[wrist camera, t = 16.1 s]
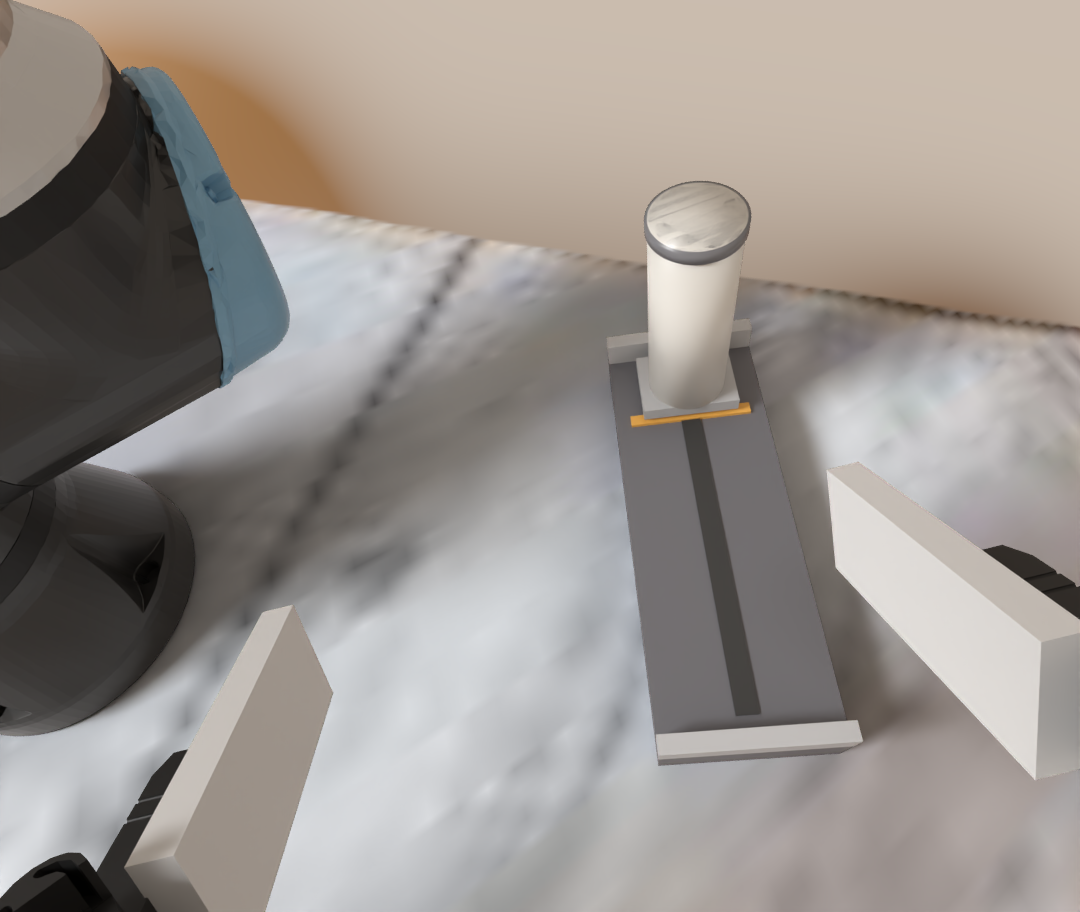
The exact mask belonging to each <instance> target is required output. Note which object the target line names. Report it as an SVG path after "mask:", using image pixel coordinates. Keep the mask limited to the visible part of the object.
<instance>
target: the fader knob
mask: <svg viewBox="0 0 1080 912" xmlns="http://www.w3.org/2000/svg"><path fill="white" fill-rule="evenodd" d="M750 222H751V210H750V206H749V204H748V202H747V201H746V199H745V198H744V197H743V196H742V195H741V194H740V193H739V192H737V191H736V190H734V189H733V188H731V187H728V186H726V185H723V184H720V183H715V182H709V181H693V182H685V183H681V184H678V185H675V186H672V187H670V188H668V189H666V190H664V191H662V192H661V193H659V194H658V195H657V196H656V197H655V198H654V199H653V200H652V201H651V202H650V204H649V205H648V207H647V209H646V211H645V216H644V233H645V238H646V241H647V284H648V356H649V357H642V358H636V368H637V375H638V381H639V388H640V395H641V401H642V408H643V415H644V420H646V419H654V418H663V417H671V416H679V415H688V414H696V413H704V412H713V411H721V410H730V409H738V407H739V401H740V399H739V395H738V391H737V386H736V382H735V378H734V374H733V370H732V366H731V362H730V357H729V346H730V339H731V333H732V326H733V319H734V312H735V306H736V299H737V292H738V285H739V279H740V272H741V265H742V258H743V251H744V244H745V241H746V239H747V236H748V234H749V228H750Z"/></svg>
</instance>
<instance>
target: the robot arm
mask: <svg viewBox="0 0 1080 912" xmlns="http://www.w3.org/2000/svg"><path fill="white" fill-rule="evenodd" d="M289 322H290V313H289V308H288V303H287V300H286V297H285V294H284V291H283V289H282V286H281V284H280V281H279V279H278V276H277V274H276V272H275V270H274V267H273V265H272V263H271V261H270V258H269V256H268V254H267V252H266V250H265V248H264V246H263V243H262V241H261V239H260V237H259V235H258V233H257V231H256V229H255V227H254V225H253V223H252V221H251V219H250V217H249V215H248V213H247V211H246V209H245V207H244V206H243V204H242V202H241V200H240V198H239V197H238V195H237V194H236V192H235V191H234V190H233V189H232V188H231V186H230V180H229V178H228V176H227V174H226V173H225V171H224V169H223V167H222V166H221V163H220V161H219V158H218V156H217V154H216V152H215V150H214V148H213V146H212V144H211V143H210V141H209V139H208V137H207V135H206V134H205V132H204V130H203V128H202V127H201V125H200V123H199V121H198V120H197V118H196V116H195V114H194V113H193V111H192V110H191V108H190V107H189V105H188V103H187V101H186V100H185V98H184V96H183V95H182V93H181V92H180V91H179V89H178V88H177V86H176V85H175V84H174V82H173V81H172V80H171V78H170V77H169V76H168V75H167V74H166V73H165V72H163V71H162V70H160V69H158V68H155V67H146V68H142V69H138V68H136V67H131V68H130V69H128V67H127V68H125V69H123V70H121V74H119V72H118V71H117V69H116V68H115V67H114V65H113V64H112V62H111V61H110V59H109V58H108V57H107V55H106V54H105V52H104V50H103V49H102V47H101V46H100V45H99V44H98V42H97V41H96V40H95V38H94V37H93V36H92V35H91V34H90V33H89V32H88V31H86V30H85V29H84V28H83V27H81V26H80V25H78V24H76V23H75V22H73V21H72V20H69V19H66V18H63V17H60V16H57V15H54V14H52V13H49V12H45V11H43V10H40V9H37V8H33V7H31V6H28V5H24V4H21V3H19V2H16V1H13V0H0V734H1V735H8V736H31V735H38V734H44V733H48V732H52V731H55V730H58V729H61V728H64V727H67V726H69V725H72V724H74V723H76V722H78V721H80V720H82V719H84V718H86V717H88V716H90V715H92V714H93V713H95V712H97V711H98V710H100V709H101V708H103V707H104V706H106V705H107V704H109V703H110V702H111V701H113V700H114V699H115V698H117V697H118V696H119V695H120V694H122V693H123V692H124V691H125V690H126V689H127V688H129V687H130V686H131V685H132V684H133V683H134V682H135V681H136V680H137V679H138V678H139V677H140V676H141V675H142V674H143V673H144V672H145V670H146V669H147V668H148V667H149V666H150V665H151V663H152V662H153V661H154V660H155V659H156V657H157V656H158V654H159V653H160V652H161V650H162V649H163V647H164V646H165V644H166V643H167V641H168V640H169V638H170V636H171V635H172V633H173V631H174V630H175V628H176V626H177V624H178V622H179V620H180V617H181V615H182V613H183V610H184V608H185V605H186V602H187V599H188V596H189V593H190V589H191V584H192V579H193V573H194V546H193V540H192V536H191V532H190V529H189V527H188V524H187V522H186V520H185V518H184V516H183V515H182V513H181V512H180V510H179V509H178V508H177V507H176V506H175V505H174V504H173V503H172V502H171V501H170V500H169V499H168V498H166V497H165V496H164V495H162V494H161V493H159V492H158V491H157V490H155V489H154V488H152V487H151V486H149V485H148V484H147V483H145V482H143V481H142V480H140V479H138V478H136V477H134V476H131V475H129V474H126V473H124V472H121V471H117V470H113V469H108V468H104V467H100V466H96V465H92V464H87V463H83V462H84V461H86V460H87V459H89V458H91V457H93V456H95V455H96V454H98V453H100V452H102V451H104V450H106V449H107V448H109V447H111V446H113V445H115V444H116V443H118V442H120V441H122V440H124V439H126V438H127V437H129V436H131V435H133V434H135V433H136V432H138V431H140V430H142V429H144V428H146V427H147V426H149V425H151V424H153V423H155V422H156V421H158V420H160V419H162V418H164V417H165V416H167V415H169V414H171V413H173V412H175V411H176V410H178V409H180V408H182V407H184V406H185V405H187V404H189V403H191V402H193V401H195V400H196V399H198V398H200V397H202V396H204V395H205V394H207V393H209V392H211V391H213V390H215V389H216V388H222V387H224V386H225V385H227V384H229V383H230V382H231V380H232V379H233V376H234V375H236V374H237V373H239V372H240V371H242V370H243V369H245V368H246V367H248V366H250V365H251V364H253V363H254V362H256V361H257V360H259V359H260V358H262V357H263V356H265V355H266V354H268V353H269V352H271V351H272V350H274V349H275V348H276V347H277V346H278V345H279V344H280V343H281V342H282V340H283V338H284V336H285V335H286V333H287V331H288V328H289ZM827 479H828V489H829V500H830V511H831V522H832V533H833V544H834V555H835V566H836V569H837V570H838V571H839V572H840V573H841V574H842V575H843V576H844V577H845V578H846V579H847V580H848V581H849V582H850V583H851V585H852V586H853V587H854V588H855V589H856V590H857V591H858V592H859V593H860V594H861V595H862V596H863V597H864V598H865V599H866V601H867V602H868V603H869V604H870V605H871V606H872V607H873V608H874V609H875V610H876V611H877V612H878V613H879V614H880V615H881V616H882V618H883V619H884V620H885V621H886V622H887V623H888V624H889V625H890V626H891V627H892V628H893V629H894V630H895V631H896V632H897V633H898V635H899V636H900V637H901V638H902V639H903V640H904V641H905V642H906V643H907V644H908V645H909V646H910V647H911V648H912V649H913V651H914V652H915V653H916V654H917V655H918V656H919V657H920V658H921V659H922V660H923V661H924V662H925V663H926V664H927V665H928V666H929V668H930V669H931V670H932V671H933V672H934V673H935V674H936V675H937V676H938V677H939V678H940V679H941V680H942V681H943V682H944V683H945V685H946V686H947V687H948V688H949V689H950V690H951V691H952V692H953V693H954V694H955V695H956V696H957V697H958V698H959V699H960V701H961V702H962V703H963V704H964V705H965V706H966V707H967V708H968V709H969V710H970V711H971V712H972V713H973V714H974V715H975V716H976V718H977V719H978V720H979V721H980V722H981V723H982V724H983V725H984V726H985V727H986V728H987V729H988V730H989V731H990V732H991V733H992V735H993V736H994V737H995V738H996V739H997V740H998V741H999V742H1000V743H1001V744H1002V745H1003V746H1004V747H1005V748H1006V749H1007V751H1008V752H1009V753H1010V754H1011V755H1012V756H1013V757H1014V758H1015V759H1016V760H1017V761H1018V762H1019V763H1020V764H1021V765H1022V766H1023V768H1024V769H1025V770H1026V771H1027V772H1028V773H1029V774H1030V775H1031V776H1032V777H1033V778H1034V779H1035V780H1039V779H1043V778H1047V777H1051V776H1055V775H1059V774H1063V773H1068V772H1072V771H1076V770H1080V586H1079V587H1076V585H1075V583H1074V582H1072V581H1071V580H1069V579H1068V578H1066V577H1065V576H1063V575H1062V574H1057V573H1056V570H1054V569H1053V568H1051V567H1050V566H1048V565H1046V564H1045V563H1043V562H1042V561H1040V560H1039V559H1037V558H1036V557H1034V556H1033V555H1030V554H1027V553H1024V552H1021V551H1018V550H1016V549H1013V548H1010V547H1007V546H1004V545H1000V546H996V547H992V548H988V549H984V550H981V549H980V548H978V547H977V546H976V545H974V544H973V543H971V542H970V541H969V540H967V539H966V538H964V537H963V536H962V535H960V534H959V533H957V532H956V531H955V530H953V529H952V528H950V527H949V526H948V525H946V524H945V523H943V522H942V521H941V520H939V519H938V518H936V517H935V516H934V515H932V514H931V513H929V512H928V511H927V510H925V509H924V508H922V507H921V506H920V505H918V504H917V503H915V502H914V501H913V500H911V499H910V498H908V497H907V496H906V495H904V494H903V493H901V492H900V491H899V490H897V489H896V488H894V487H893V486H892V485H890V484H889V483H887V482H886V481H885V480H883V479H882V478H880V477H879V476H878V475H876V474H875V473H873V472H872V471H871V470H869V469H868V468H866V467H865V466H864V465H862V464H861V463H859V462H856V463H852V464H848V465H844V466H840V467H836V468H832V469H828V470H827ZM332 695H333V692H332V689H331V687H330V685H329V683H328V681H327V678H326V676H325V674H324V672H323V669H322V667H321V665H320V663H319V661H318V658H317V656H316V654H315V652H314V649H313V647H312V645H311V643H310V641H309V638H308V636H307V634H306V632H305V630H304V627H303V625H302V623H301V621H300V618H299V616H298V614H297V612H296V610H295V607H294V605H289V606H285V607H281V608H277V609H273V610H269V611H265V612H262V614H261V616H260V618H259V620H258V621H257V623H256V625H255V627H254V629H253V631H252V633H251V634H250V636H249V638H248V640H247V642H246V644H245V645H244V647H243V649H242V651H241V653H240V655H239V657H238V658H237V660H236V662H235V664H234V666H233V668H232V669H231V671H230V673H229V675H228V677H227V679H226V680H225V682H224V684H223V686H222V688H221V690H220V692H219V693H218V695H217V697H216V699H215V701H214V703H213V704H212V706H211V708H210V710H209V712H208V714H207V716H206V717H205V719H204V721H203V723H202V725H201V727H200V728H199V730H198V732H197V734H196V736H195V738H194V740H193V741H192V743H191V745H190V747H189V749H187V750H183V751H179V752H175V753H173V754H172V755H171V756H170V758H169V759H168V760H167V761H166V762H165V763H164V764H163V765H162V766H161V767H160V768H159V769H158V770H157V771H156V772H155V773H154V774H153V775H152V777H151V779H150V780H149V782H148V784H147V786H146V787H145V789H144V791H143V792H142V794H141V796H140V798H139V799H138V801H139V803H138V804H135V806H134V808H133V810H132V811H131V813H130V815H129V817H128V818H127V824H124V825H123V827H122V829H121V830H120V832H119V834H118V836H117V837H116V839H115V841H114V842H113V844H112V846H111V848H110V849H109V851H108V853H107V855H106V856H105V858H104V860H103V861H102V863H101V865H100V867H99V868H98V870H97V872H96V871H95V870H94V868H93V867H92V866H91V864H90V863H89V861H88V860H87V859H86V858H85V857H84V856H83V855H82V854H81V853H65V854H62V855H59V856H56V857H53V858H50V859H49V860H47V861H45V862H43V863H42V864H40V865H38V866H36V867H35V868H33V869H31V870H30V871H29V872H28V873H26V874H25V875H24V876H23V877H21V878H20V879H19V880H18V881H16V882H15V883H14V884H13V885H12V886H11V887H10V888H9V889H8V890H7V892H6V893H5V894H4V895H3V896H2V897H1V898H0V912H265V910H266V907H267V904H268V901H269V898H270V894H271V891H272V888H273V885H274V882H275V878H276V875H277V872H278V869H279V865H280V862H281V859H282V856H283V853H284V849H285V846H286V843H287V840H288V837H289V833H290V830H291V827H292V824H293V820H294V817H295V814H296V811H297V808H298V804H299V801H300V798H301V795H302V792H303V788H304V785H305V782H306V779H307V775H308V772H309V769H310V766H311V763H312V759H313V756H314V753H315V750H316V747H317V743H318V740H319V737H320V734H321V730H322V727H323V724H324V721H325V718H326V714H327V711H328V708H329V705H330V702H331V698H332Z"/></svg>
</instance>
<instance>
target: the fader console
mask: <svg viewBox="0 0 1080 912" xmlns="http://www.w3.org/2000/svg"><path fill="white" fill-rule="evenodd" d="M751 332H752V327H751V324H750V320H749V318H747V319H739V320H733V326H732V333H731V339H730V346H729V357H730V362H731V366H732V370H733V374H734V378H735V382H736V386H737V391H738V395H739V399H740V401H739V407H738V409H730V410H721V411H713V412H704V413H696V414H688V415H679V416H671V417H663V418H654V419H646V420H644V415H643V408H642V401H641V395H640V388H639V381H638V375H637V368H636V358H642V357H649V356H648V332H642V333H634V334H627V335H619V336H612V337H606V340H607V351H608V361H609V372H610V381H611V389H612V397H613V405H614V413H615V421H616V429H617V437H618V445H619V453H620V461H621V469H622V477H623V485H624V493H625V501H626V509H627V517H628V525H629V534H630V542H631V550H632V558H633V566H634V574H635V582H636V590H637V598H638V606H639V614H640V622H641V630H642V638H643V646H644V654H645V662H646V670H647V678H648V686H649V694H650V702H651V710H652V718H653V726H654V734H655V742H656V750H657V758H658V766H661V765H676V764H690V763H705V762H720V761H735V760H750V759H765V758H780V757H795V756H809V755H824V754H839V753H841V752H843V751H845V750H847V749H849V748H851V747H853V746H855V745H857V744H859V743H861V742H863V739H862V735H861V731H860V728H859V724H858V720H851V721H847V719H846V715H845V711H844V708H843V704H842V700H841V696H840V692H839V689H838V685H837V681H836V677H835V673H834V669H833V666H832V662H831V658H830V654H829V650H828V647H827V643H826V639H825V635H824V631H823V627H822V624H821V620H820V616H819V612H818V608H817V605H816V601H815V597H814V593H813V589H812V586H811V582H810V578H809V574H808V570H807V566H806V563H805V559H804V555H803V551H802V547H801V544H800V540H799V536H798V532H797V528H796V525H795V521H794V517H793V513H792V509H791V505H790V502H789V498H788V494H787V490H786V486H785V483H784V479H783V475H782V471H781V467H780V464H779V460H778V456H777V452H776V448H775V444H774V441H773V437H772V433H771V429H770V425H769V422H768V418H767V414H766V410H765V406H764V402H763V399H762V395H761V391H760V387H759V383H758V380H757V376H756V372H755V368H754V364H753V361H752V357H751V353H750V349H749V343H750V337H751Z"/></svg>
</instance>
